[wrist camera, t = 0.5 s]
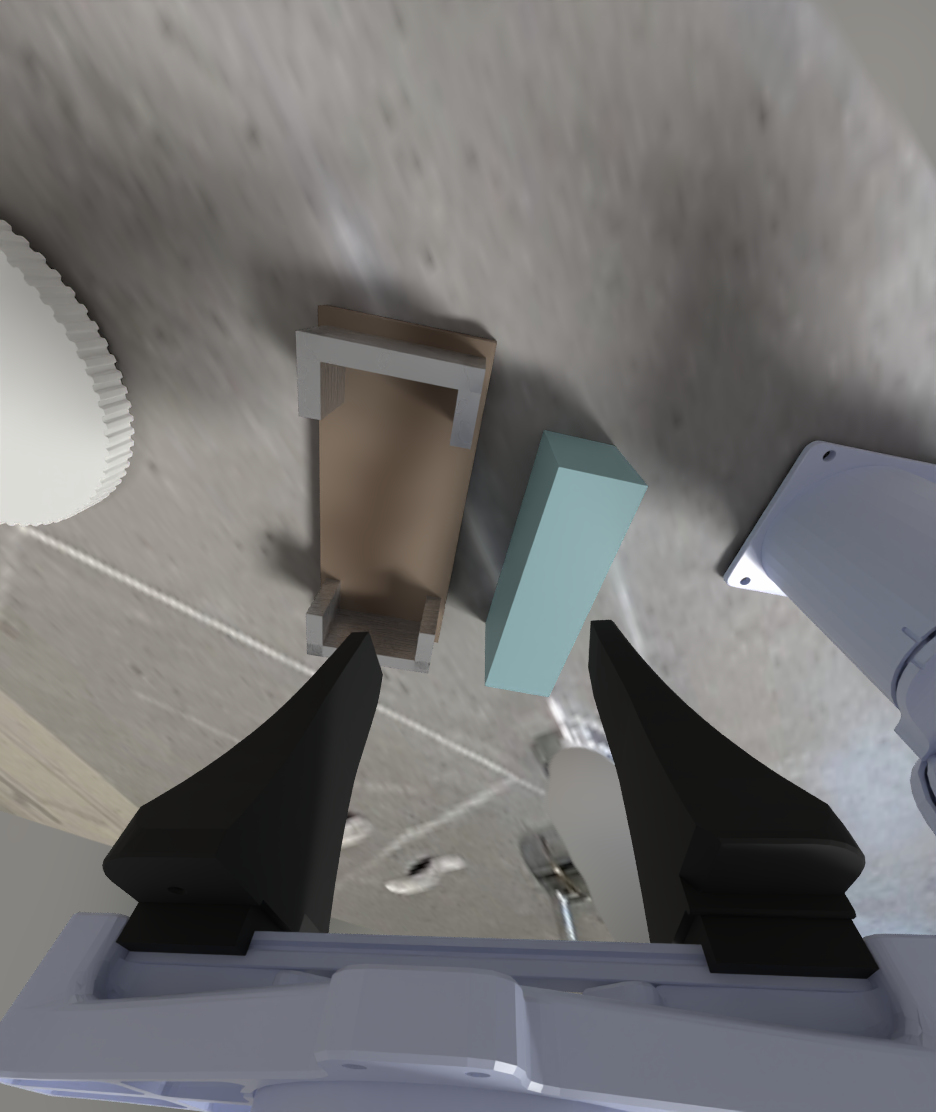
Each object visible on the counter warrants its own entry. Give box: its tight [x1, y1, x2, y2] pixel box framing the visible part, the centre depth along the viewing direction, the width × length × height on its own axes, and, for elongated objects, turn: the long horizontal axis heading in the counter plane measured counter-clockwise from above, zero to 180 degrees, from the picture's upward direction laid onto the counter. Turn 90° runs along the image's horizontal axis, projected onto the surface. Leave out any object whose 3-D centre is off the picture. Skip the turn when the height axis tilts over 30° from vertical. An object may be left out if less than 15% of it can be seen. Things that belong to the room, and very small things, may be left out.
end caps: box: [296, 325, 486, 673], centre depth 19 cm, size 6×15×3 cm, turn 170°
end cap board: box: [318, 305, 497, 643], centre depth 21 cm, size 7×16×1 cm, turn 170°
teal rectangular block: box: [485, 430, 648, 697], centre depth 20 cm, size 3×12×5 cm, turn 168°
